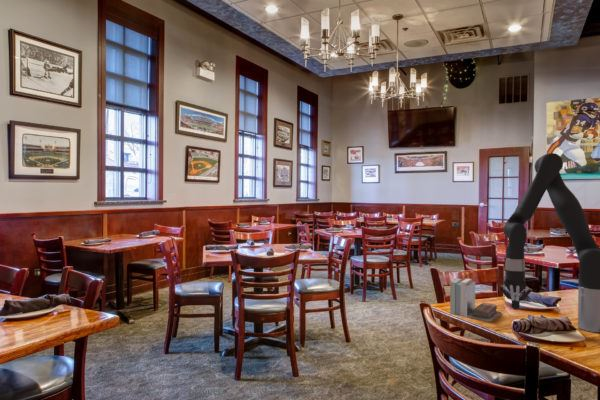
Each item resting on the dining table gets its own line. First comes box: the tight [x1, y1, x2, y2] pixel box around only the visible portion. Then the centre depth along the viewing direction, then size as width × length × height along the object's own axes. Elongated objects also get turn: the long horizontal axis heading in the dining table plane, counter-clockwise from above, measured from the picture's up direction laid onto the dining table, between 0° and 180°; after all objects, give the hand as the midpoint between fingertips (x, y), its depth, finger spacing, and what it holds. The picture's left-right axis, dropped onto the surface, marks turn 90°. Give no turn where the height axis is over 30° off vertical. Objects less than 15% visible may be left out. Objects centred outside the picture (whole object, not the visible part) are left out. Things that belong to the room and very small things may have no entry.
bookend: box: [450, 280, 476, 318], centre depth 192 cm, size 8×14×14 cm, turn 143°
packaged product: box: [466, 302, 502, 323], centre depth 188 cm, size 18×5×10 cm
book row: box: [449, 278, 473, 317], centre depth 192 cm, size 7×10×15 cm
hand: (515, 309), depth 177 cm, fingers closed
